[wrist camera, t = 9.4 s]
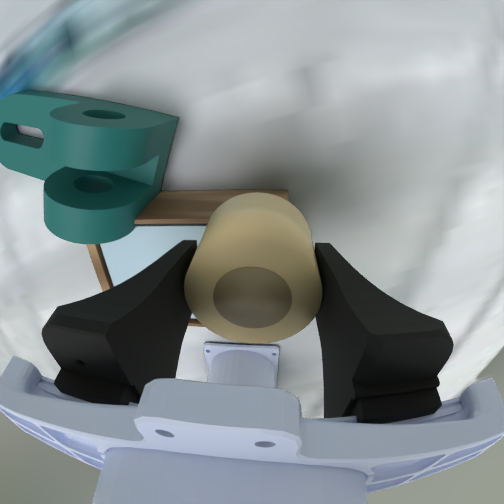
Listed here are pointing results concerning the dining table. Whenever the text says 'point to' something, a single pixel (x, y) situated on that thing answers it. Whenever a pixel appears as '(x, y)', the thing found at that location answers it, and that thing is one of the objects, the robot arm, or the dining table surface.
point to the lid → (146, 247)
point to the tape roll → (254, 271)
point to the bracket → (87, 160)
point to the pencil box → (175, 219)
